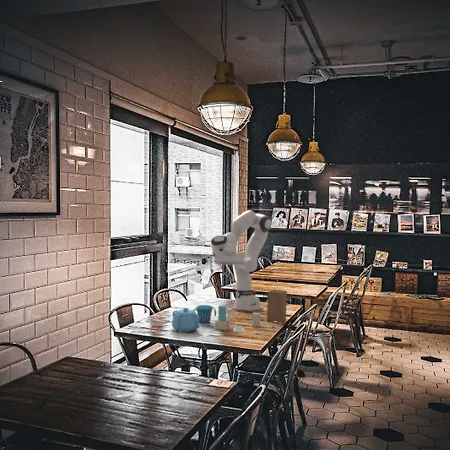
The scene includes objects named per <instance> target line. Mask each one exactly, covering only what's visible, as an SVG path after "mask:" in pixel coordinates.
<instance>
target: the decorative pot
mask: <svg viewBox="0 0 450 450" xmlns="http://www.w3.org/2000/svg"><path fill="white" fill-rule="evenodd" d="M171 326H172V328H173V329H174V330H175V331H176V332H184V333H187V334H188V333H190V332H193V331H196V330H197V329H199V328H200V327H201V326H200V322H199V315H198V313H197V311H196V310H195V311H194V309H189V307H184V308H182V309H180V310H177V309H176V310H173V312H172V320H171Z"/></svg>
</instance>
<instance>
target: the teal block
mask: <svg viewBox="0 0 450 450" xmlns="http://www.w3.org/2000/svg"><path fill="white" fill-rule="evenodd" d="M217 316H218V317H217V320H218V321H226V319H227V305H225V304H219V305H218V314H217Z"/></svg>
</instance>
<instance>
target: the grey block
mask: <svg viewBox="0 0 450 450" xmlns="http://www.w3.org/2000/svg"><path fill="white" fill-rule="evenodd" d="M260 325H261V313H260V312H252V326H260Z"/></svg>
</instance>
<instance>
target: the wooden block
mask: <svg viewBox="0 0 450 450" xmlns="http://www.w3.org/2000/svg"><path fill="white" fill-rule="evenodd" d="M287 297H288V291H287V290H282V289H272V290H269V291H267V304H266V305H267V307H266V322H269V321H277V322H282V321H284V320H285V321H286V320H287V301H288V300H287V299H288V298H287ZM285 321H284V322H285ZM282 323H283V322H282Z"/></svg>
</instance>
